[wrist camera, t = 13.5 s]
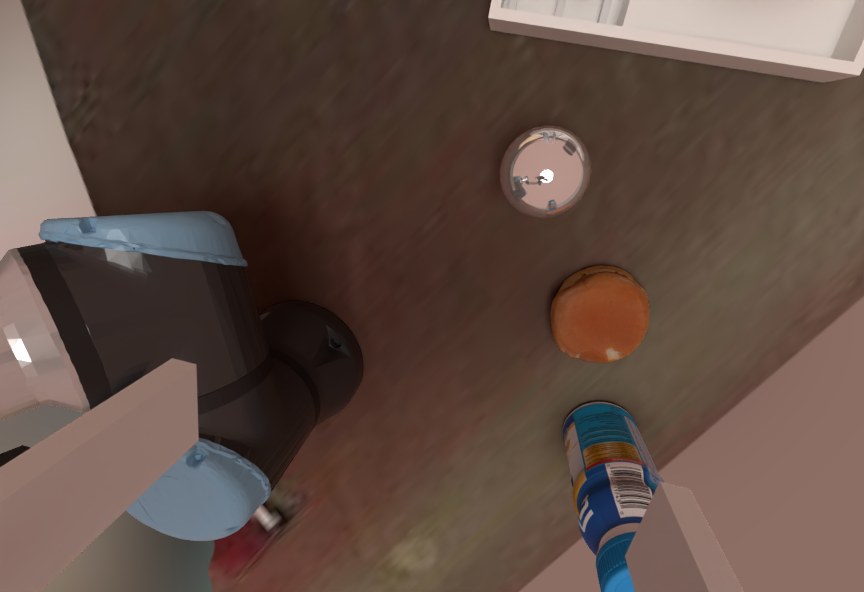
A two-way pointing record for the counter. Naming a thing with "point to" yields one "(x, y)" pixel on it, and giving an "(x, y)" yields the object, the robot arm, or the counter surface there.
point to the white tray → (705, 31)
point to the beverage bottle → (609, 485)
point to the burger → (599, 314)
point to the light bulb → (545, 171)
